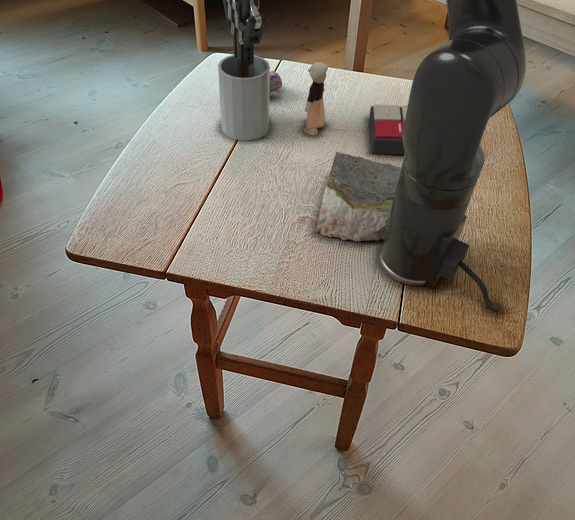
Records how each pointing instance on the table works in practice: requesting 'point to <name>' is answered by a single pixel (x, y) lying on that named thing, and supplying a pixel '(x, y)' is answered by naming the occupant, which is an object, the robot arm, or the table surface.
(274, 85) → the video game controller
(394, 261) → the robot arm
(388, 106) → the black red box
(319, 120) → the grandmother figurine
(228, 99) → the cup
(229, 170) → the table surface
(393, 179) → the geological specimen
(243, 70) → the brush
